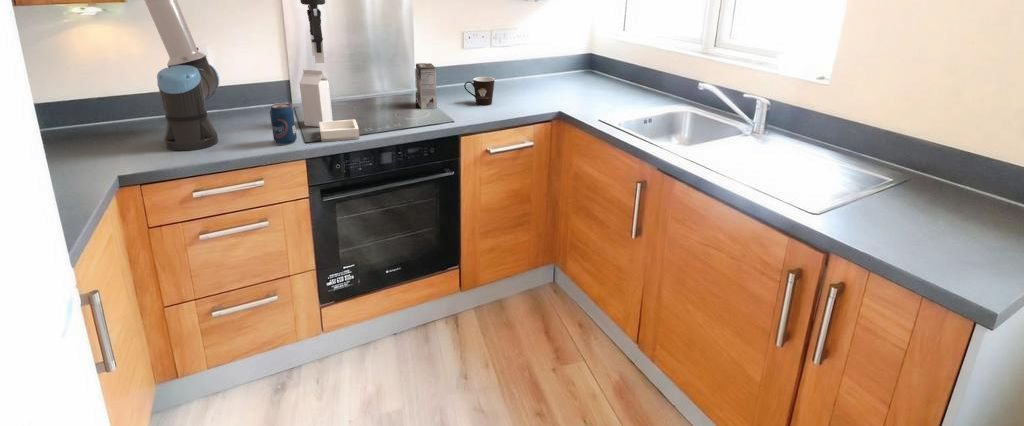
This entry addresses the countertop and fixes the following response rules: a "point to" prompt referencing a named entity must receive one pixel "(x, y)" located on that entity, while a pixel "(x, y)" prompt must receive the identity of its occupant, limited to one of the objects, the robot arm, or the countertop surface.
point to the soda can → (283, 124)
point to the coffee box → (426, 85)
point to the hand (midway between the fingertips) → (318, 59)
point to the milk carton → (315, 98)
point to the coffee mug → (482, 90)
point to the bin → (339, 130)
